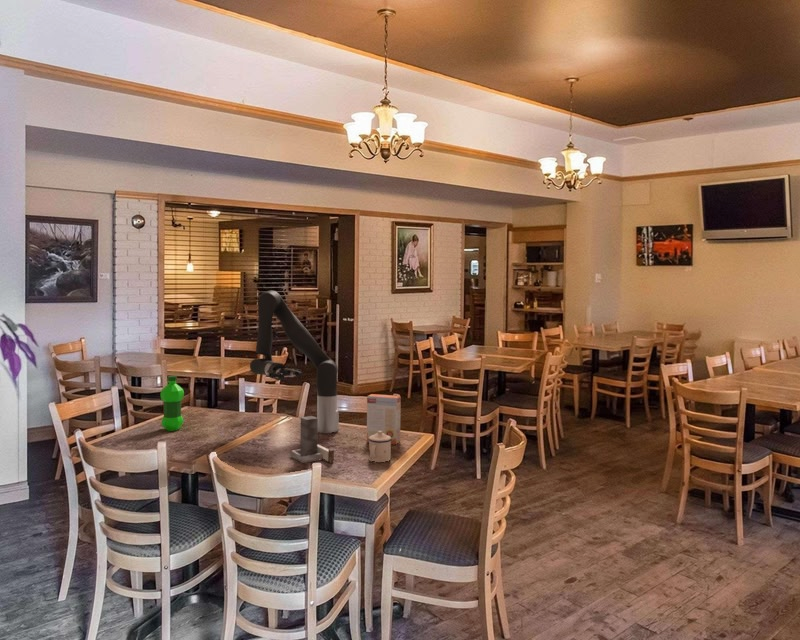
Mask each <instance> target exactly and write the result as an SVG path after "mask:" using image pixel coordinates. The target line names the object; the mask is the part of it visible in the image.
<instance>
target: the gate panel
mask: <svg viewBox="0 0 800 640" xmlns="http://www.w3.org/2000/svg"><path fill="white" fill-rule="evenodd" d="M329 450H330V449H329V448H327V447H324V446H322V445H321V444H319V443H317V453H323V460H324V459H325V460H324V461H326V460H327V461H326V462H328V461H329Z"/></svg>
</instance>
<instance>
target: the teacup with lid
mask: <svg viewBox="0 0 800 640" xmlns="http://www.w3.org/2000/svg"><path fill="white" fill-rule="evenodd" d="M368 443H369V444H368V460H369V459H370V460H371V461H370V460H369V461H370V462H372V461H376V462H384V463H386V462H385V461H388V462H389V460H391V455H392V454H391V451H392V450H391V448H392V447H391V446H392V445H391V437H390V436H388V435H385V434H384V433H383V432H382V431H378V433H376V434H374V435H372V436H370V437H369V442H368ZM376 462H375V463H376Z"/></svg>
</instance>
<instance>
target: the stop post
mask: <svg viewBox="0 0 800 640" xmlns="http://www.w3.org/2000/svg"><path fill="white" fill-rule="evenodd" d="M318 433H319V432H318V418H317V416H313V415H308V416H301V417H300V448H299V449H300V454H301V455H303V456H305V455H311V454H317V444H318V439H319V437H318V436H319V435H318Z"/></svg>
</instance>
